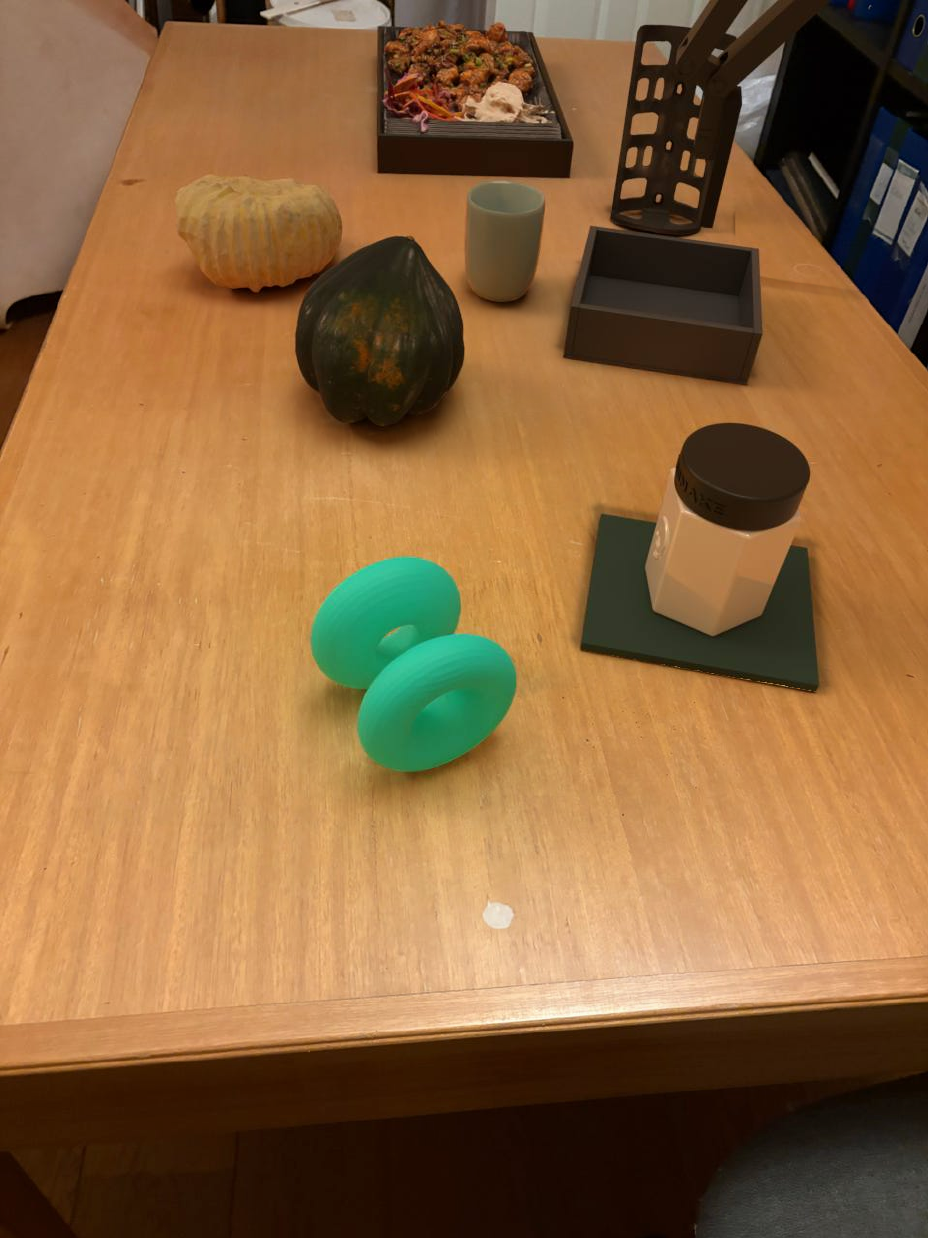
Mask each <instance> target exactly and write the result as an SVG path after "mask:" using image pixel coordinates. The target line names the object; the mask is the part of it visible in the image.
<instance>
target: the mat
mask: <svg viewBox="0 0 928 1238" xmlns="http://www.w3.org/2000/svg"><path fill="white" fill-rule="evenodd" d="M598 521H599V522H598V528H597V534H596V542H595V548H594V553H593V555H594V556H593V560H592V561H593V562H592V567H591V575H590V582H589V587H588V594H587V600H586V607H585V614H584V622H583V626H582V634H581V640H580V647H579V650H580V649H581V650H580V651H583V650H586V651H585V652H588V651H591V652H590V653H594V652H596V653H595V654H599V653H601V654H600V655H605V654H606V655H605V656H610V655H614V656H613V657H616V656H619V657H618V658H621V657H623V658H622V659H627V658H629V659H628V660H632V659H636V660H635V661H638V660H639V662H643V661H646V662H645V663H649V662H650V663H649V664H654V663H655V664H654V665H660V664H665V665H668V666H667V667H671V666H677V667H680V668H679V669H682V668H687V669H690V670H689V671H693V670H699V671H702V672H701V673H704V672H709V673H714V674H713V675H715V674H719V675H718V676H720V675H725V676H724V677H726V676H730V677H729V678H731V677H735V678H734V679H737V678H743V679H750V680H752V681H751V682H754V681H760V682H767V683H773V684H779V685H785V686H788V687H794V688H800V689H805V690H811V691H816V692H817V691H818V689H819V687H820V682H819V681H820V679H819V669H818V656H817V644H816V633H815V622H814V621H815V620H814V609H813V596H812V595H813V594H812V585H811V573H810V571H811V570H810V562H809V561H810V560H809V548H808V547H804V546H798V545H793V544H791V545H790V548H789V550H788V553H787V555H786V557H785V560H784V562H783V565H782V567H781V569H780V572H779V574H778V577H777V579H776V581H775V584H774V586H773V589H772V591H771V594H770V596H769V598H768V601H767V603H766V606H765V608H764V610H763V613H762V615H761V616H759V617H756V618H754V619H752V620H750V621H747V622H745V623H743V624H740V625H738V626H736V627H734V628H731V629H729V630H727V631H724V632H722V633H720V634H718V635H715V636H710V635H707V634H705V633H703V632H700V631H698V630H696V629H693V628H691V627H689V626H686V625H684V624H682V623H679V622H677V621H675V620H672V619H670V618H668V617H665V616H663V615H661V614H659V613H656V612H654V611H653V609H652V603H651V598H650V592H649V587H648V581H647V576H646V570H645V565H646V561H647V557H648V554H649V550H650V546H651V542H652V539H653V535H654V531H655V527H656V524H657V522H654V521H648V520H642V519H637V518H630V517H624V516H618V515H612V514H607V513H600V517H599V520H598ZM665 665H664V666H665ZM687 669H686V670H687ZM709 673H708V674H709ZM743 679H742V680H743Z"/></svg>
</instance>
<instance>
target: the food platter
mask: <svg viewBox="0 0 928 1238" xmlns="http://www.w3.org/2000/svg"><path fill="white" fill-rule="evenodd" d="M376 30H377V31H376V33H377V34H376V35H377V37H376V39H377V40H376V41H377V43H376V46H377V47H376V49H377V50H376V55H377V56H376V57H377V58H376V60H377V61H376V155H377V156H376V158H377V159H376V163H377V173H378V174H408V175H409V174H411V175H413V174H414V175H444V176H445V175H447V176H448V175H449V176H485V177H486V176H487V177H522V178H523V177H524V178H525V177H526V178H527V177H528V178H560V179H561V178H562V179H570V178H571V177H570V176H571V169H572V168H571V167H572V161H573V155H574V147H575V143H574V139H573V137H572V134H571V132H570V129H569V126H568V123H567V121H566V118H565V115H564V111H563V110H562V107H561V105H560V102H559V99H558V96H557V93H556V91H555V88H554V86H553V82H552V80H551V78H550V75H549V72H548V69H547V65H546V63H545V61H544V58H543V55H542V53H541V50H540V48H539V45H538V42H537V39H536V37H535V34H534V32H532V31H525V30H507V29H506V26H505V24H504V23H502V22H499V21H497V22H495V23H493V24H491V25H489V27H488V28H487V29H466V28H465V25H464V24H462V23H457V24H454V23H453V24H447V23H446V22H445V21H444V20H442V19H439V20H438V22H437V23H436V25H435V26H434V25H433V23H432V22H429V23H428V24H427V25H426V26H424V27H417V26H415V27H414V26H387V25H386V26H385V25H379V26H377V29H376Z"/></svg>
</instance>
